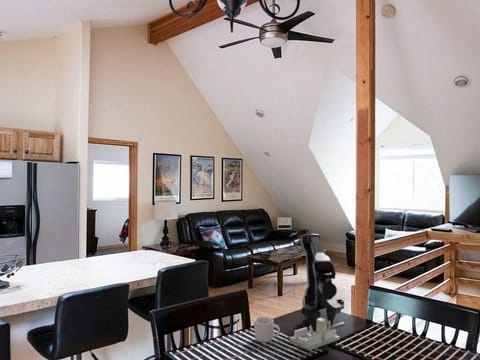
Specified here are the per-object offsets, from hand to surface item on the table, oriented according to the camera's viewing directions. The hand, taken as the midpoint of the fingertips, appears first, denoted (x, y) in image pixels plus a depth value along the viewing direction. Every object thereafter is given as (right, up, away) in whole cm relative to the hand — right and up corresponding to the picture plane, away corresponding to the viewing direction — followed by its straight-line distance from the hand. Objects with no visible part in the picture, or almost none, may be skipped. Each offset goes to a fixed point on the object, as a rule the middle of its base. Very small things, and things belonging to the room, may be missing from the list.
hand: (322, 329), depth 155 cm
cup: (-23, -4, -3) cm, 23 cm away
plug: (0, -2, 0) cm, 2 cm away
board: (-4, -4, -2) cm, 5 cm away
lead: (+9, -4, +13) cm, 16 cm away
